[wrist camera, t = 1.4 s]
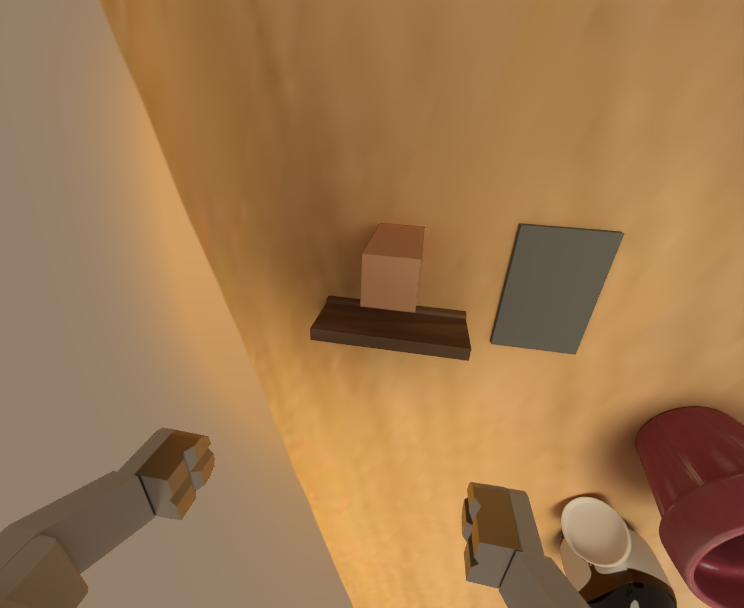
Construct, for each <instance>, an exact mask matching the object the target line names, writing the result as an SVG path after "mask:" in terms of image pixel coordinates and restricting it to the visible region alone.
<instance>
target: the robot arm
mask: <svg viewBox="0 0 744 608" xmlns="http://www.w3.org/2000/svg"><path fill="white" fill-rule="evenodd" d="M210 444H211V442H210V439H209V437H208V436H204V435H199V434H194V433H189V432H184V431H179V430H174V429H168V428H161V429H159V430H157V431H156V432H155V433H154V434H153V435H152V436H151V437H150V438H149V439H148V440H147V442H145V443H144V445H143V446H142V447H141V448H140V449H139V450H138V451H137V452H136V453H135V454H134V455H133V456H132V457H131V458H130V459H129V460H128V461H127V462H126V463H125V464H124V465H123V466H122V468H121V469H120V470H119V471H118V472H116V471H112V472H110V473H108V474H106V475H104V476H103V477H101V478H99V479H97V480H95V481H93V482H91V483H89V484H87V485H86V486H83V487H81V488H79V489H77V490H76V491H74V492H72V493H70V494H68V495H66V496H64V497H62V498H60V499H58V500H56V501H54V502H53V503H51V504H49V505H47V506H45V507H43V508H41V509H39V510H37V511H35V512H33V513H31V514H29V515H27V516H25V517H23V518H22V519H20V520H18V521H16V522H14V523H12V524H10V525H9V526H7V527H6V528H5V529H4V530H3V531H2V532H1V533H0V608H77V606H78V605H79V604H80V602H81V601H82V600H83V598H84V597H85V596H86V594H87V593H88V586H87V584H86V583H85V581H84V580H83V578H82V577H81V575H80V574H81V573H82V572H84V571H85V570H86V569H88V568H89V567H90V566H92V565H93V564H94V563H95V562H97V561H98V560H99V559H101V558H102V557H103V556H105V555H106V554H107V553H109V552H110V551H111V550H113V549H114V548H115V547H116V546H118V545H119V544H120V543H122V542H123V541H124V540H126V539H127V538H128V537H130V536H131V535H132V534H134V533H135V532H136V531H138V530H139V529H140V528H142V527H143V526H144V525H146V524H147V523H148V522H149V521H151V520H152V519H153V518H154V517H155V516H160V517H165V518H171V519H177V520H182V518H183V517H184V515H185V514H186V512H187V511H188V509H189V508H190V506H191V505H192V503H193V502H194V500H195V499H196V490H198V489H199V488H201V487H202V486H204V485H205V484H206V482H207V481H208V479H209V477H210V476H211V473H212V470H213V467H214V461H215V458H214V454H213V453H212V452H211V451H210V450H209V449H208V447H209V446H210ZM467 493H468V498H466V499H464V503H463V508H462V535H463V537H464V538H465V540H466V541H467V544H466V547H465V551H464V560H465V571H466V581H469V582H473V583H477V584H482V585H486V586H490V587H494V588H498V589H499V592H500V594H501V596H502V598H503V599H504V601H505V603H506V605H507V607H508V608H590V606H589V605H588V604H587V603H586V601H585V600H584V599H583V597H582V596H581V595H580V594H579V592H578V591H577V590H576V589H575V587H574V586H573V585H572V584H571V582H570V581H569V580H568V579H567V577H566V576H565V575H564V574H563V572H562V571H561V570H560V569H559V567H558V566H557V565H556V564H555V562H554V561H553V560H552V559H551V558H550V557H546V556H545V555H544V552H543V548H542V545H541V541H540V538H539V534H538V530H537V527H536V523H535V520H534V516H533V512H532V509H531V505H530V502H529V498H528V495H527V494H526V492H525V491H521V490H514V489H508V488H505V487H499V486H493V485H487V484H481V483H474V482H470V483H469V485H468V488H467Z"/></svg>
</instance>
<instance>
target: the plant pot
mask: <svg viewBox="0 0 744 608" xmlns="http://www.w3.org/2000/svg"><path fill="white" fill-rule="evenodd" d="M636 448H637V452H638V454H639V456H640V459H641V462H642V465H643V467H644V470H645V473H646V476H647V479H648V481H649V484H650V487H651V490H652V492H653V495H654V498H655V501H656V504H657V506H658V509H659V512H660V515H661V517H662V519H661V522H660V526H659V535H660V539H661V542H662V544H663V546H664V548H665V550H666V551H667V553H668V555H669V557H670V558H671V560H672V562H673V563H674V565H675V567H676V568H677V570H678V572H679V573H680V575H681V577H682V578H683V580H684V581H685V583H686V584H687V586H688V587H689V589H690V590H691V591H692V593H693V594H694V595H695V596H696V597H697V598H698V599H700V600H701V601H702V602H704V603H705V604H707V605H709V606H710V607H712V608H744V425H743V424H742V423H740V422H738V421H737V420H735V419H734V418H732V417H730V416H729V415H727V414H725V413H723V412H721V411H718V410H715V409H711V408H706V407H686V408H680V409H676V410H672V411H669V412H666V413H663V414H661V415H659V416H657V417H655V418H654V419H652V420H651V421H649V422H648V423H647V424H646V425H645V426H644V427H643V428H642V429H641V430H640V432H639V434H638V436H637V439H636Z"/></svg>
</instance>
